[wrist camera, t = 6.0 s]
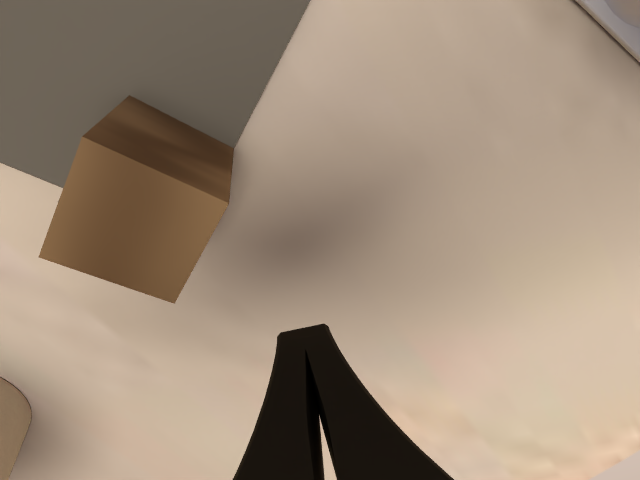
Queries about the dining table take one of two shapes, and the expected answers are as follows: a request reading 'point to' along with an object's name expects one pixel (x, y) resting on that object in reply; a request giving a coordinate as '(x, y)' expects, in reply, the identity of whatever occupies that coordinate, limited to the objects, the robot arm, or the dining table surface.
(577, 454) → the dining table surface
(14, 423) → the coffee cup
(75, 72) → the mat
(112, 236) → the block
